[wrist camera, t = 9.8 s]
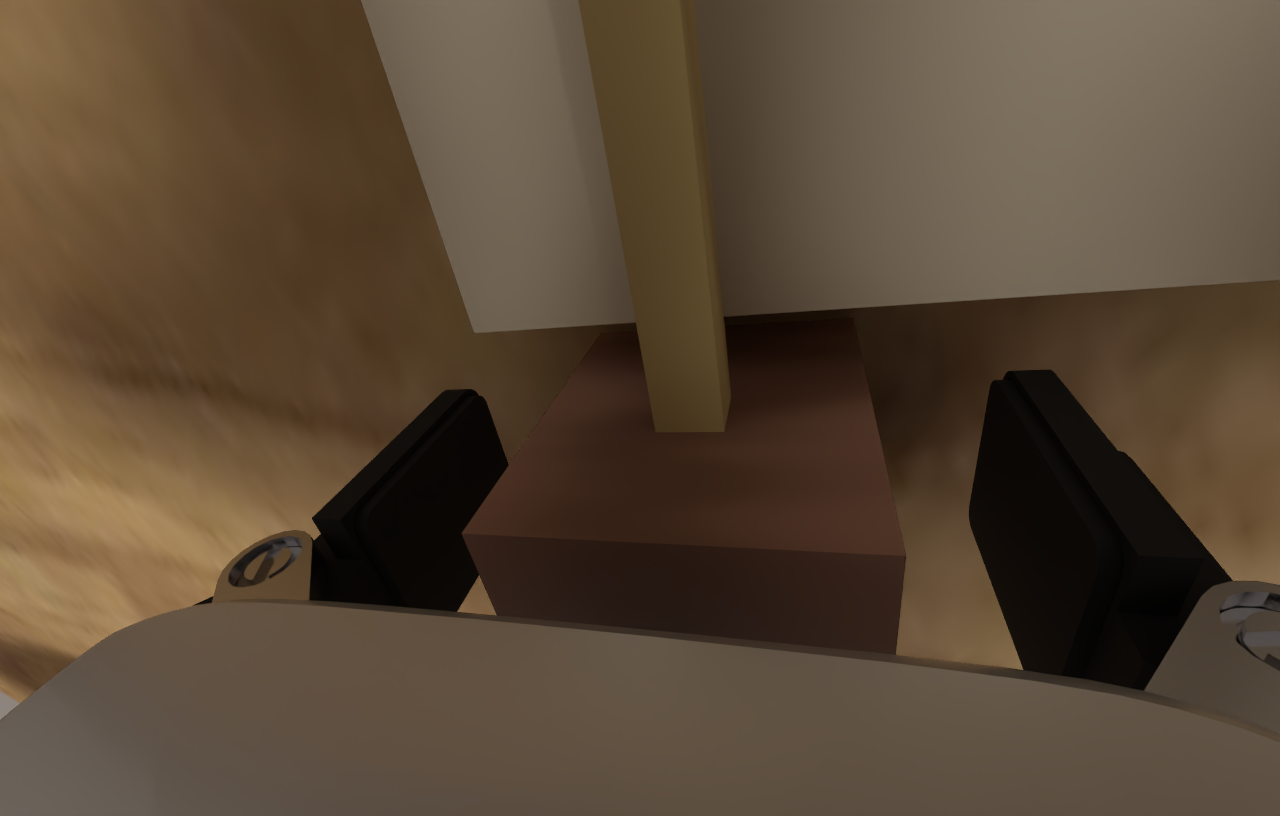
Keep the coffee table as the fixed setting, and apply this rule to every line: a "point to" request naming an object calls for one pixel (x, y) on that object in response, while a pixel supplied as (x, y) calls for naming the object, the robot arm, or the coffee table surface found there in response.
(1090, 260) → the board
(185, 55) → the coffee table surface
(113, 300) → the coffee table surface
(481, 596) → the coffee table surface
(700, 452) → the cube with stick handle
